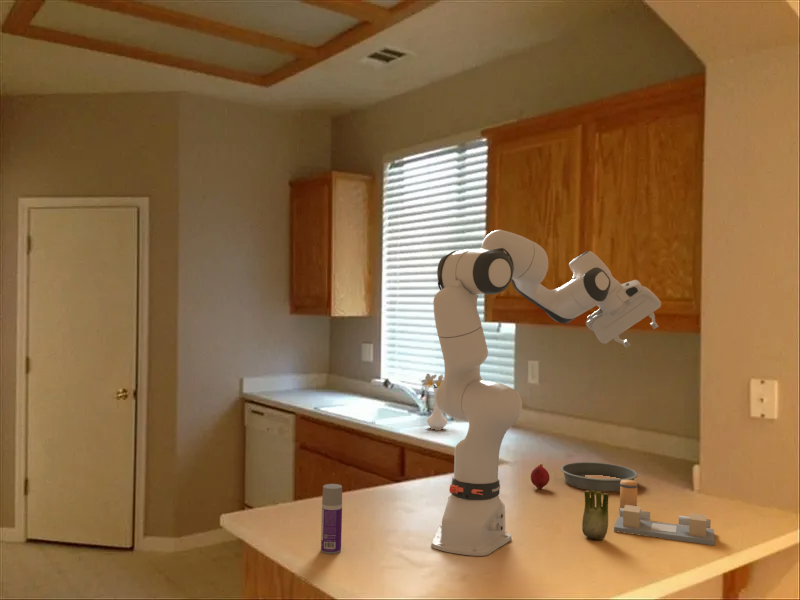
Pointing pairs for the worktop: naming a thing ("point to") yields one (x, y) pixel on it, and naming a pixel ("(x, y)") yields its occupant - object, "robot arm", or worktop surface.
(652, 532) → the bench
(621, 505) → the sleeve
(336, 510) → the container
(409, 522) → the worktop surface
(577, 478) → the cake pan
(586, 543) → the worktop surface
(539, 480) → the onion
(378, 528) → the worktop surface
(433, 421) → the flower vase
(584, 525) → the fennel bulb
